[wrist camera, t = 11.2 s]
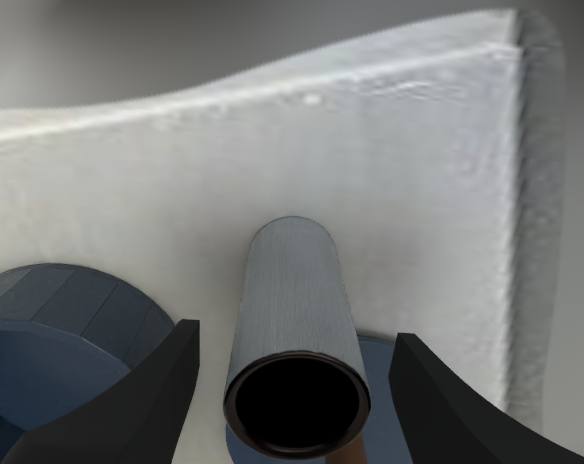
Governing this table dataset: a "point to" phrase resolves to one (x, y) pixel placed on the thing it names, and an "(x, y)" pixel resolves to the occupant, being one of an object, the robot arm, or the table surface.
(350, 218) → the table surface
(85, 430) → the robot arm
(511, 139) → the table surface
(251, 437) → the gray hollow cylinder
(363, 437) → the pan lid
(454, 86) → the table surface
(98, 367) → the pan
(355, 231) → the table surface
